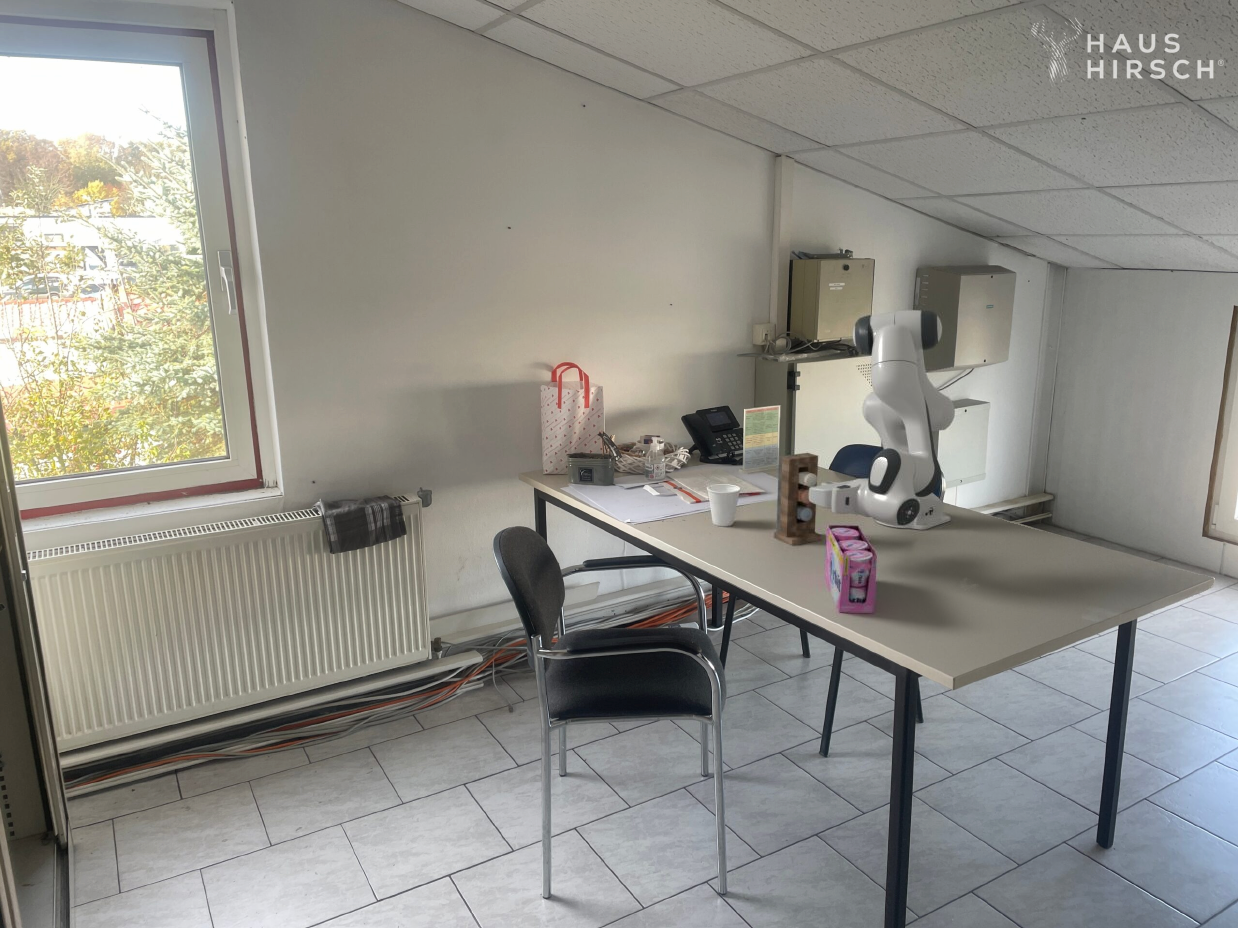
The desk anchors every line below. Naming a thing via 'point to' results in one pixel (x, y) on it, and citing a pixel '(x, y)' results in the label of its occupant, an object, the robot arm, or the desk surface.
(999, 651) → the desk surface
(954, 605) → the desk surface
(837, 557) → the gum box
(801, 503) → the wooden dispenser tower
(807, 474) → the cream button
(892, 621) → the desk surface
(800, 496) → the terracotta button
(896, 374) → the robot arm
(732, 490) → the cup
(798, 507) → the slate button
